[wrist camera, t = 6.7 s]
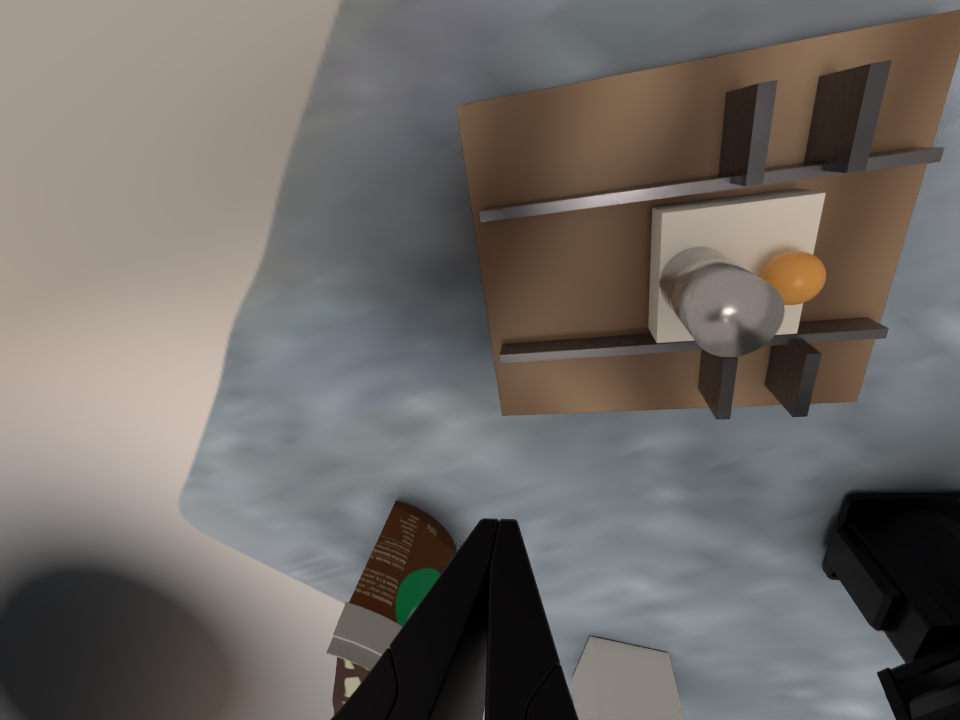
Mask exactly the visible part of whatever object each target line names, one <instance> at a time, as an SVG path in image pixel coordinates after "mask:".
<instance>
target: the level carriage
mask: <svg viewBox="0 0 960 720" xmlns="http://www.w3.org/2000/svg"><path fill="white" fill-rule="evenodd" d="M825 194H826V193H824V192H819V191H813V190H807V189H802V188H797V189H790V190H782V191H774V192H766V193H759V194H751V195H743V196H735V197H728V198H720V199H712V200H704V201H697V202H689V203H681V204H674V205H666V206H658V207H652V229H651V259H650V289H649V320H648V328H649V330H650V332H651V334H652V336H653V337H654V339H655V341H656V343H665V342H680V341H694V340H695V341H696V342H697V344H698V345H699V346H700V347H701V348H702V349H703V350H705V351H706V352H708V353H710V354H713V355H716V356H720V357H737V356H742V355H746V354H749V353H751V352H753V351H756V350H757V349H759V348H761V347H762V346H764V345H765V344H766V343H768V342H769V341H770V340H771V339H772V338H773V337H774V336H775V335H782V334H796V333H797V331H798V326H799V321H800V317H801V312H802V307H803V303H804V302H807V301H809V300H810V299H812V298H813V297H815V296H816V295H817V294H818V293H819V292H820V291H821V289H822V288H823V286H824V284H825V281H826V269H825V267H824V265H823V263H822V262H821V261H820V260H819V259H818V258H817V257H816V256H814V255H813V253H814V248H815V243H816V238H817V233H818V229H819V224H820V219H821V214H822V209H823V204H824V199H825Z"/></svg>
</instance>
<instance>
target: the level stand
mask: <svg viewBox="0 0 960 720" xmlns="http://www.w3.org/2000/svg"><path fill="white" fill-rule="evenodd" d="M959 53H960V10H957V11H951V12H946V13H941V14H936V15H930V16H925V17H920V18H915V19H909V20H904V21H899V22H894V23H888V24H883V25H878V26H873V27H867V28H862V29H857V30H852V31H846V32H841V33H836V34H831V35H825V36H820V37H815V38H810V39H805V40H799V41H794V42H789V43H784V44H778V45H773V46H768V47H763V48H757V49H752V50H747V51H742V52H736V53H731V54H726V55H721V56H715V57H710V58H705V59H700V60H694V61H689V62H684V63H679V64H674V65H668V66H663V67H658V68H653V69H647V70H642V71H637V72H632V73H626V74H621V75H616V76H611V77H605V78H600V79H595V80H590V81H584V82H579V83H574V84H569V85H563V86H558V87H553V88H548V89H543V90H537V91H532V92H527V93H522V94H516V95H511V96H506V97H501V98H495V99H490V100H485V101H480V102H474V103H469V104H464V105H459V106H456V108H457V114H458V121H459V128H460V135H461V141H462V148H463V155H464V162H465V168H466V175H467V182H468V189H469V195H470V202H471V209H472V216H473V222H474V229H475V236H476V242H477V249H478V256H479V263H480V269H481V276H482V283H483V290H484V296H485V303H486V310H487V317H488V323H489V330H490V337H491V344H492V350H493V357H494V364H495V371H496V377H497V384H498V391H499V398H500V404H501V411H502V416H507V415H533V414H558V413H583V412H609V411H634V410H659V409H684V408H710V409H711V411H712V413H713V414H714V416H715V418H716V419H730V415H731V407H735V406H760V405H783V406H784V408H785V409H786V410H787V411H788V412H789V413H790V414H791V415H792V417H804V416H807V414H808V410H809V406H810V404H811V403H836V402H856V401H857V398H858V395H859V391H860V388H861V385H862V381H863V378H864V374H865V371H866V368H867V364H868V361H869V358H870V354H871V351H872V347H873V344H874V341H875V339H880V338H886V336H887V332H888V329H889V328H887V327H885V326H883V325H881V324H880V320H881V317H882V314H883V310H884V307H885V303H886V300H887V297H888V293H889V290H890V287H891V283H892V280H893V276H894V273H895V270H896V266H897V263H898V259H899V256H900V253H901V249H902V246H903V243H904V239H905V236H906V232H907V229H908V226H909V222H910V219H911V215H912V212H913V209H914V205H915V202H916V199H917V195H918V192H919V188H920V185H921V182H922V178H923V175H924V172H925V168H926V165H927V163H933V162H940V160H941V157H942V154H943V150H944V148H932V144H933V141H934V138H935V134H936V131H937V128H938V124H939V121H940V117H941V114H942V111H943V107H944V104H945V101H946V97H947V94H948V90H949V87H950V84H951V80H952V77H953V73H954V70H955V67H956V63H957V60H958V57H959ZM797 188H802V189H807V190H813V191H819V192H824V193H826V194H825V199H824V204H823V209H822V214H821V219H820V224H819V229H818V233H817V238H816V243H815V248H814V253H813V255H814V256H816V257H817V258H818V259H819V260H820V261H821V262H822V263H823V265H824V267H825V269H826V281H825V284H824V286H823V288H822V289H821V291H820V292H819V293H818V294H817V295H816V296H815V297H813V298H812V299H810V300H809V301H807V302H804V303H803V307H802V312H801V317H800V321H799V326H798V331H797V333H796V334H782V335H775V336H774V337H773V338H772V339H771V340H770V341H769V342H768V343H766V344H765V345H764V346H762V347H761V348H759V349H757V350H756V351H753V352H751V353H749V354H746V355H742V356H737V357H720V356H716V355H713V354H710V353H708V352H706V351H705V350H703V349H702V348H701V347H700V346H699V345H698V344H697V342H696V341H695V340H694V341H680V342H665V343H656V341H655V339H654V337H653V336H652V334H651V332H650V330H649V328H648V320H649V289H650V259H651V229H652V207H658V206H666V205H674V204H681V203H689V202H697V201H704V200H712V199H720V198H728V197H735V196H743V195H751V194H759V193H766V192H774V191H782V190H790V189H797Z"/></svg>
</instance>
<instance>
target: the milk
mask: <svg viewBox="0 0 960 720" xmlns="http://www.w3.org/2000/svg"><path fill="white" fill-rule="evenodd" d="M573 690H574V707H575V710H576V713H577V716H578V719H579V720H684V717H683V712H682V708H681V704H680V700H679V695H678V691H677V687H676V683H675V678H674V674H673V670H672V666H671V661H670V657H669V654H668V653H666V652H661V651H657V650H652V649H647V648H643V647H638V646H633V645H629V644H624V643H620V642H615V641H610V640H606V639H601V638H596V637H592V636H590V637H589V639H588V642H587V644H586V647H585V649H584V651H583V654H582V656H581V658H580V661H579V663H578V666H577V668H576V670H575V673H574V675H573Z"/></svg>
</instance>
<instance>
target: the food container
mask: <svg viewBox="0 0 960 720" xmlns="http://www.w3.org/2000/svg"><path fill="white" fill-rule="evenodd" d="M455 554H456V547H455V544H454V542H453V540H452V538H451V536H450V535H449V533H448V532H447V531H446V530H445V528H444V527H443V526H442V525H441V524H440V523H439V522H437V521H436V520H435V519H434V518H432V517H431V516H430V515H428V514H427V513H425V512H423V511H421V510H419V509H418V508H415V507H413V506H411V505H408V504H405V503H402V502H399V501H395V504H394V506H393V508H392V510H391V512H390V515H389V517H388V519H387V521H386V523H385V525H384V528H383V530H382V532H381V534H380V536H379V538H378V541H377V543H376V545H375V547H374V549H373V552H372V554H371V556H370V558H369V560H368V562H367V565H366V567H365V569H364V571H363V573H362V575H361V578H360V580H359V582H358V584H357V586H356V589H355V591H354V593H353V595H352V597H351V599H350V602H349V603H347V602H346V604H345V606H344V609H343V612H342V614H341V616H340V619H339V621H338V624H337V626H336V629H335V631H334V634H333V639H332V641H331V643H330V646H329V648H328V650H327V654H329V655H333V656H336V657H337V666H336V676H335V684H334V691H333V707H334V715H335V714H336V713H337V712H338V710H339V709H340V708H341V707H342V706H343V704H344V703H345V702H346V701H347V700H348V698H349V697H350V696H351V695H352V694H353V693H354V691H355V690H356V689H357V688H358V686H359V685H360V684H361V682H362V681H363V680H364V678H365V677H366V676H367V675H368V673H369V672H370V671H371V669H372V668H373V667H374V665H375V664H376V663H377V661H378V660H379V659H380V657H381V656H382V654H383V653H384V652H385V650H386V649H387V648H389V649H390V644H391V642H392V641H393V639H394V638H395V637H396V635H397V634H398V633H399V631H400V630H401V628H402V627H403V626H404V624H405V623H406V622H407V620H408V619H409V617H410V616H411V615H412V613H413V612H414V611H415V609H416V608H417V606H418V605H419V604H420V602H421V601H422V600H423V598H424V597H425V595H426V594H427V593H428V591H429V590H430V589H431V587H432V586H433V584H434V583H435V582H436V580H437V579H438V578H439V576H440V575H441V573H442V572H443V571H444V569H445V568H446V567H447V565H448V564H449V562H450V561H451V560H452V558H453V557H454V556H455Z"/></svg>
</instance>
